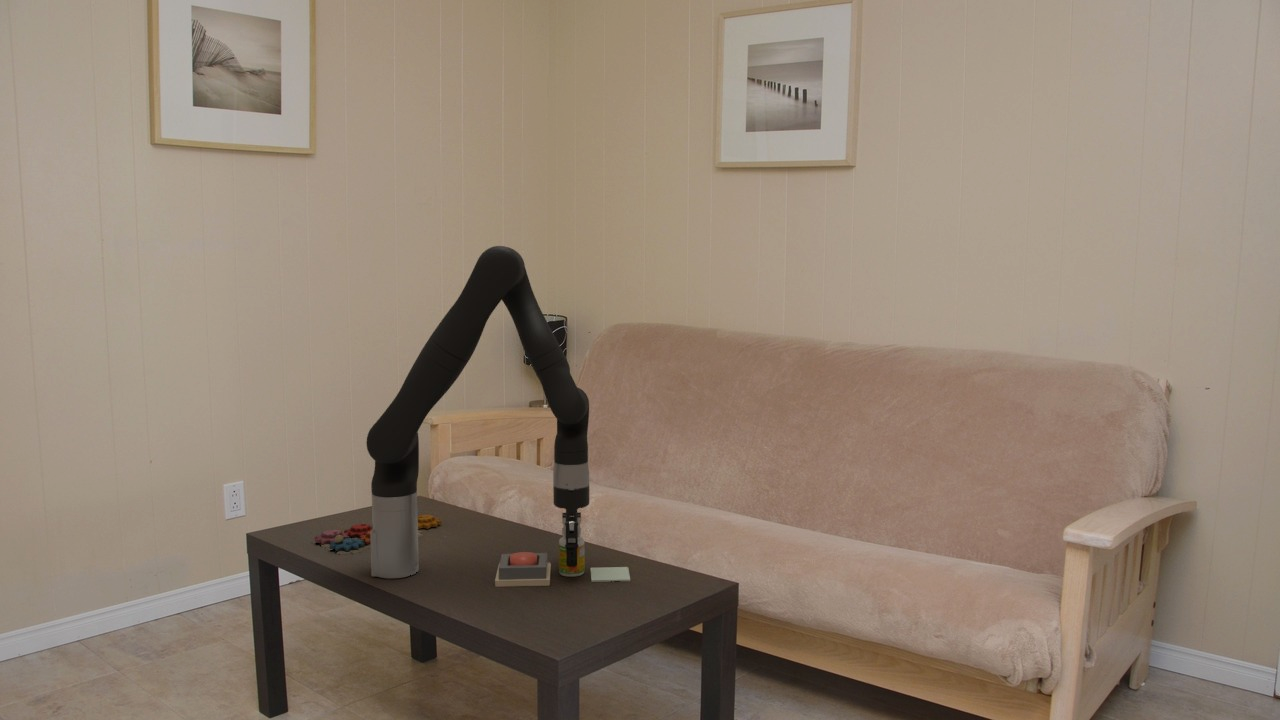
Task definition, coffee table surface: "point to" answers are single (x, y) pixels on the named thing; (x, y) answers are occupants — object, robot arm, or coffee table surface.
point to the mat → (610, 574)
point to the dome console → (523, 572)
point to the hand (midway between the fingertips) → (571, 560)
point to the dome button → (523, 558)
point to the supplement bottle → (563, 566)
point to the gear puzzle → (363, 535)
